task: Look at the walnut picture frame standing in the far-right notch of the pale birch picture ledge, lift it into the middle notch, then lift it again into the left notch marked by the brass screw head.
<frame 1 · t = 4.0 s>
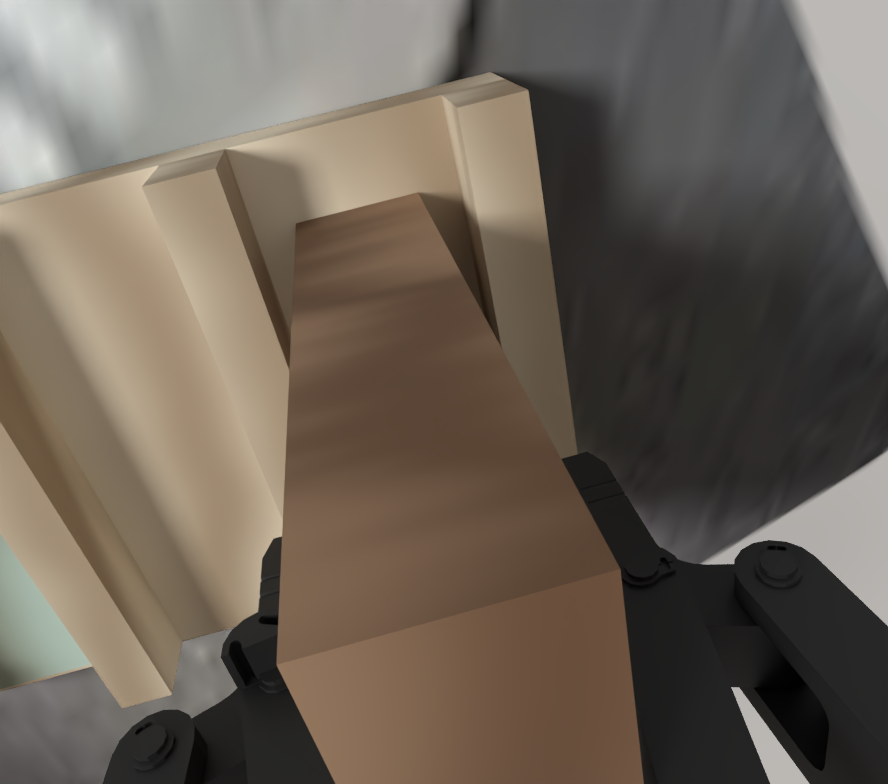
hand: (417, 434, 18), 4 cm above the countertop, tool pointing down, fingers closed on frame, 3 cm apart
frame: (405, 384, 20), point 2 cm above the countertop, touching gripper
ledge: (181, 417, 21), on the countertop
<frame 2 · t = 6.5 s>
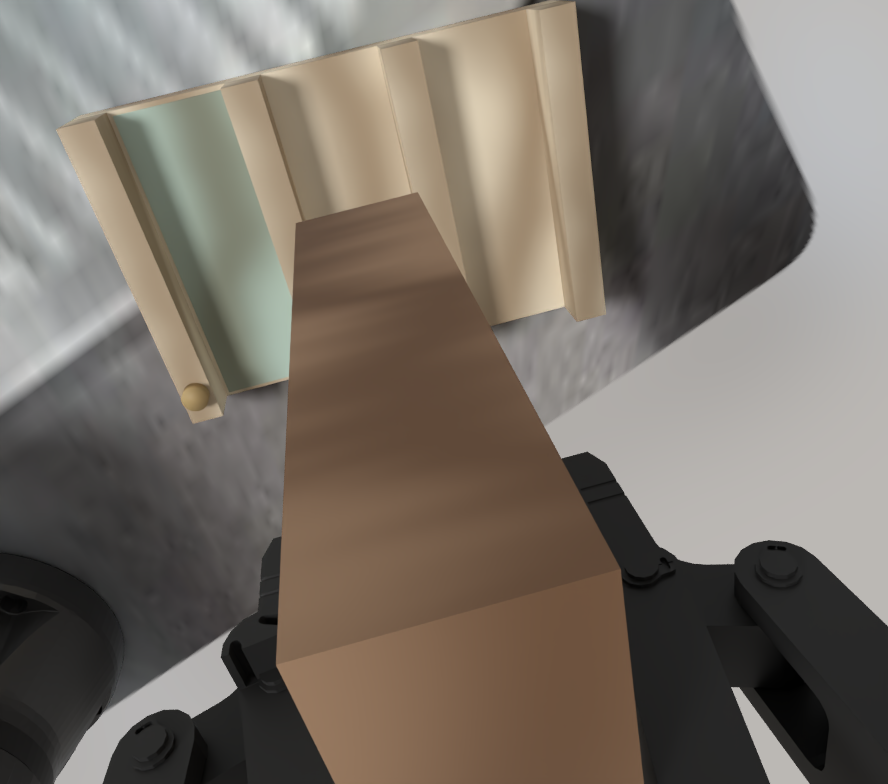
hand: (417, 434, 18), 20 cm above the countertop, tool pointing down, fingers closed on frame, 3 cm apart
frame: (404, 383, 20), point 18 cm above the countertop, touching gripper
ledge: (360, 212, 35), on the countertop
when the fingers open (5 cm above the countertop, at t = 9.3 s): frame stays where it is, resting on ledge.
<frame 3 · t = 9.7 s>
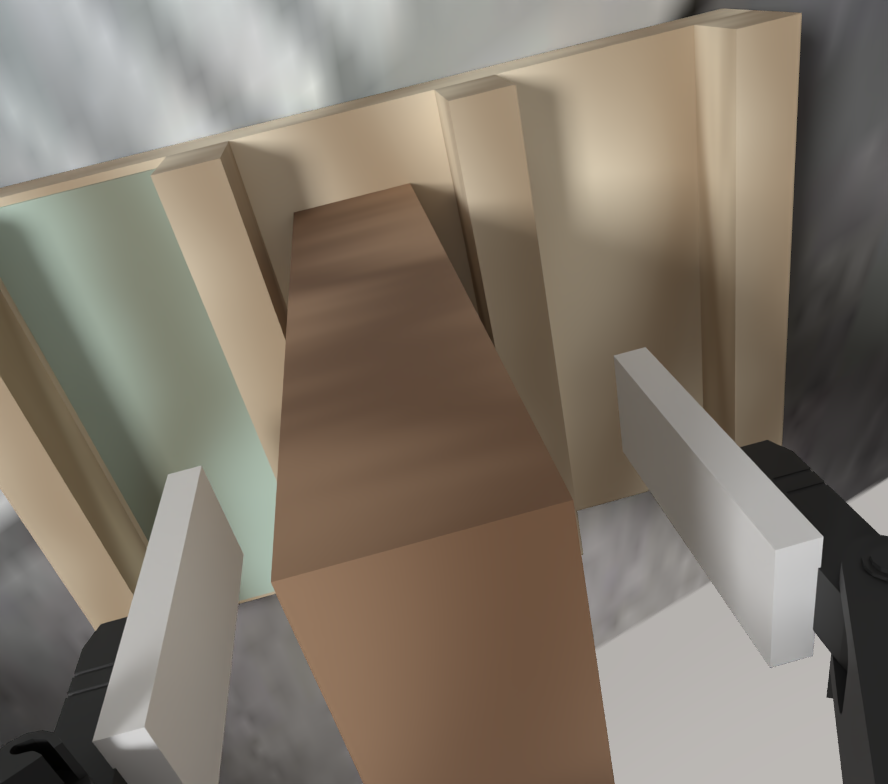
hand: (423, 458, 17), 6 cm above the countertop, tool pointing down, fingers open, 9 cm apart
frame: (398, 368, 21), point 2 cm above the countertop, touching ledge
ledge: (395, 345, 22), on the countertop
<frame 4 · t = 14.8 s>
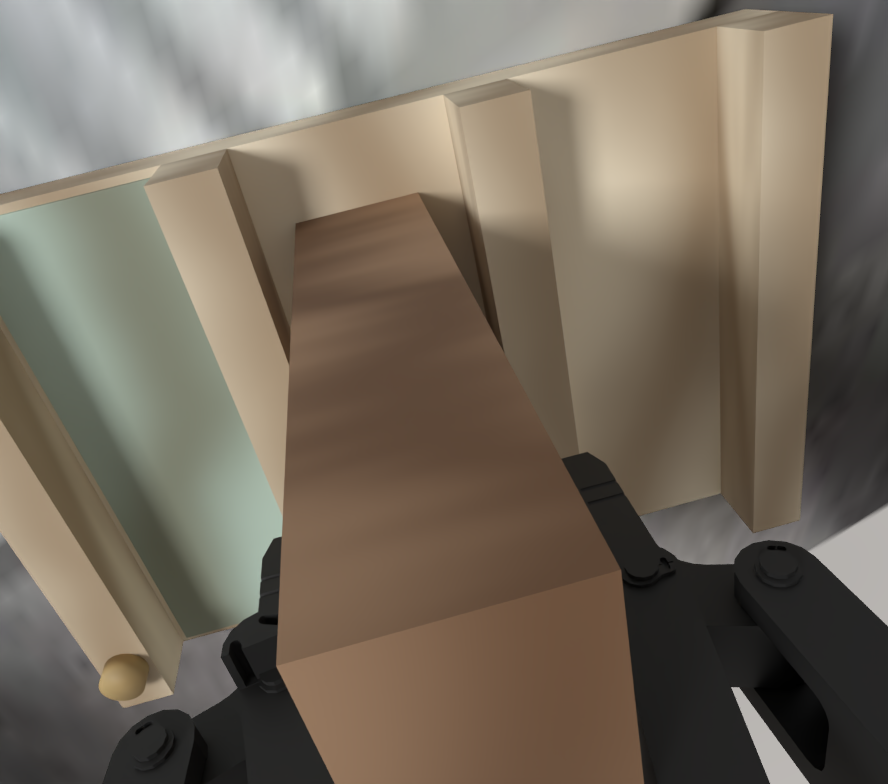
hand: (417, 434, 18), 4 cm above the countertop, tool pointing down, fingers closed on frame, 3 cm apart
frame: (404, 384, 20), point 2 cm above the countertop, touching gripper, ledge
ledge: (400, 359, 21), on the countertop
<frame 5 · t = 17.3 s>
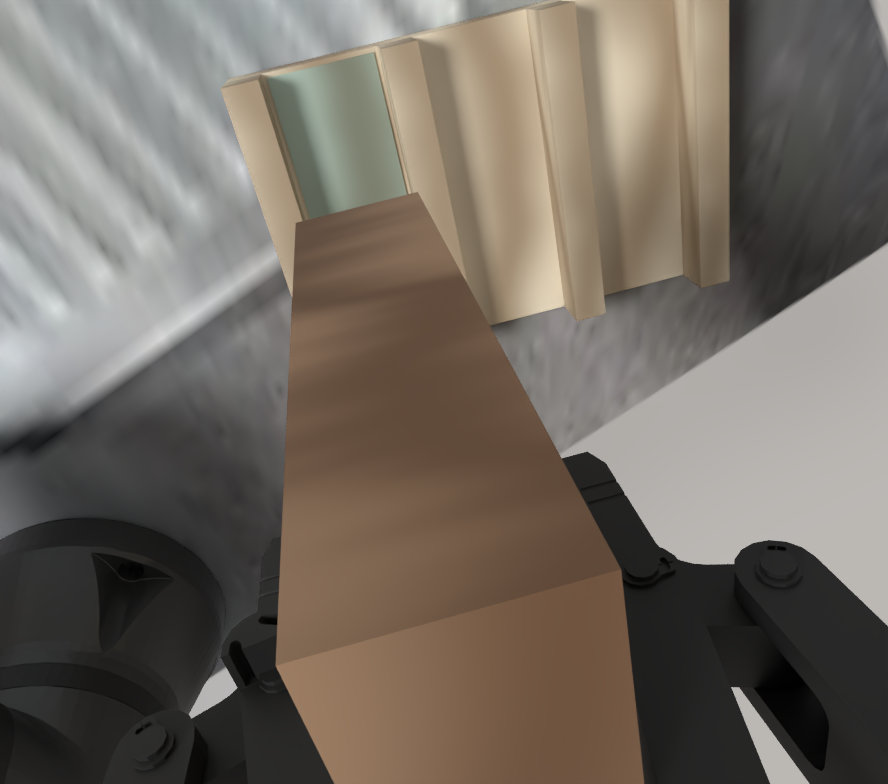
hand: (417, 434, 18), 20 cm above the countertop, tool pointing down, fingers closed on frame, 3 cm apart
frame: (404, 383, 20), point 18 cm above the countertop, touching gripper
ledge: (489, 178, 35), on the countertop
when the fingers open (5 cm above the countertop, at t = 20.1 s): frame stays where it is, resting on ledge.
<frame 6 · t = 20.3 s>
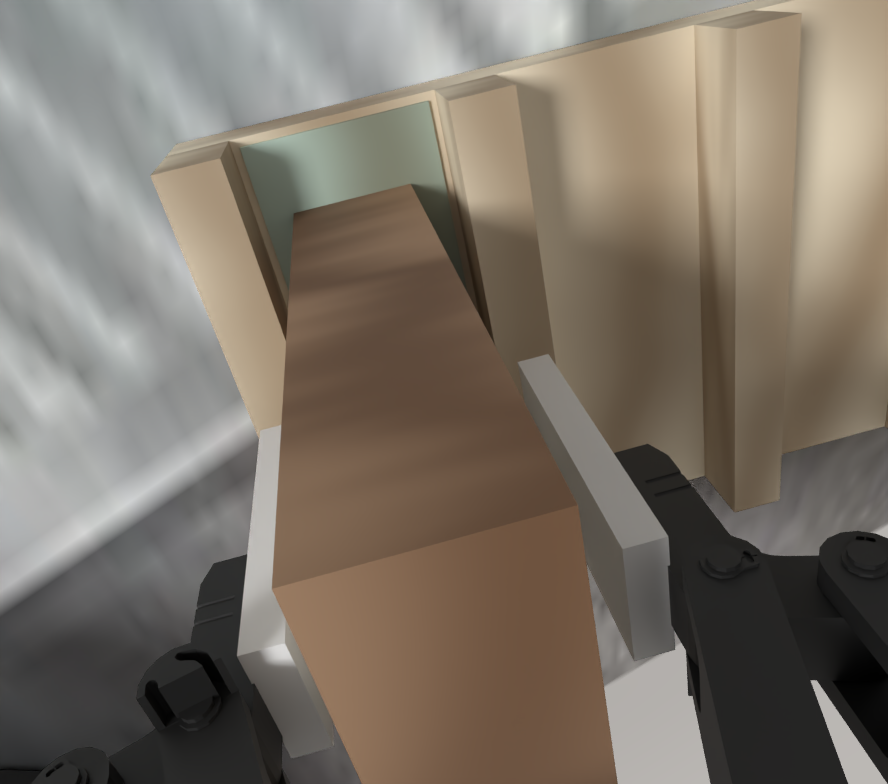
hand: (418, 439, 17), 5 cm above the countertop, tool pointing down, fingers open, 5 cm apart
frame: (399, 369, 21), point 2 cm above the countertop, touching ledge
ledge: (600, 291, 22), on the countertop
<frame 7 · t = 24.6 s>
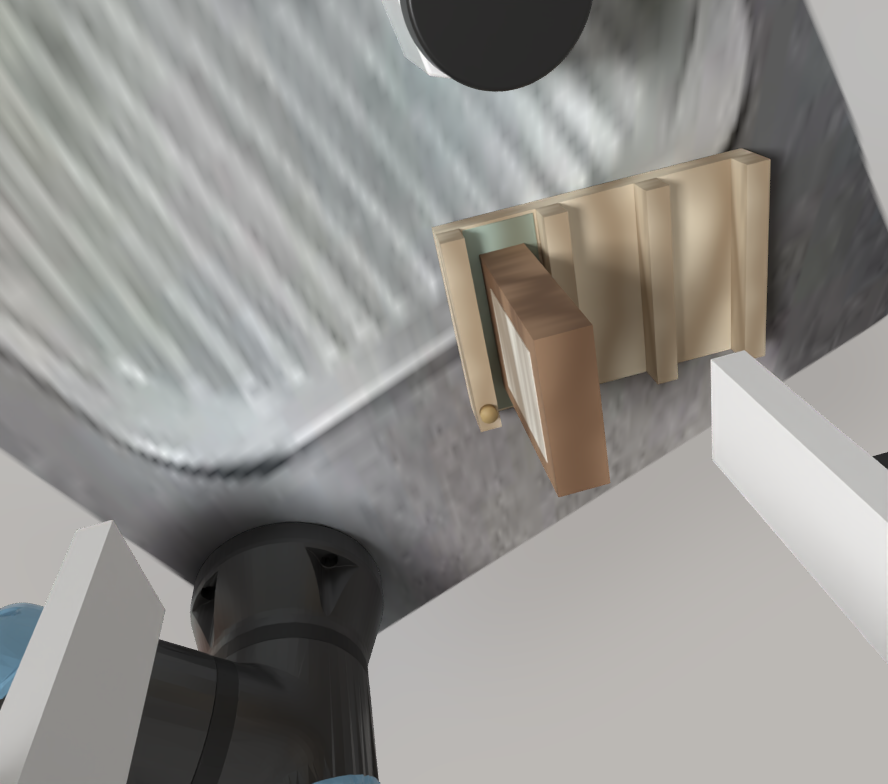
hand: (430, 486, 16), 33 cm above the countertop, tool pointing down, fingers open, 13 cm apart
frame: (513, 318, 49), point 2 cm above the countertop, touching ledge
ledge: (597, 285, 51), on the countertop
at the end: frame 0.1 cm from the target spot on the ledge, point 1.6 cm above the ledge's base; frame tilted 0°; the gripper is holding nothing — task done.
